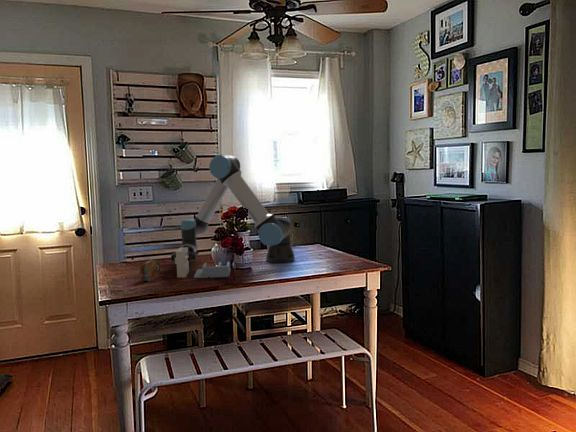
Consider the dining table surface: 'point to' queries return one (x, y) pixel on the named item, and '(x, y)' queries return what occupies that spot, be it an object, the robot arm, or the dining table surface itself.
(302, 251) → the dining table surface
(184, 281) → the dining table surface
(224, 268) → the rack
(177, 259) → the cream upright slab
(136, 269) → the dining table surface
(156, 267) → the mottled brown flat piece
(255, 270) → the dining table surface
